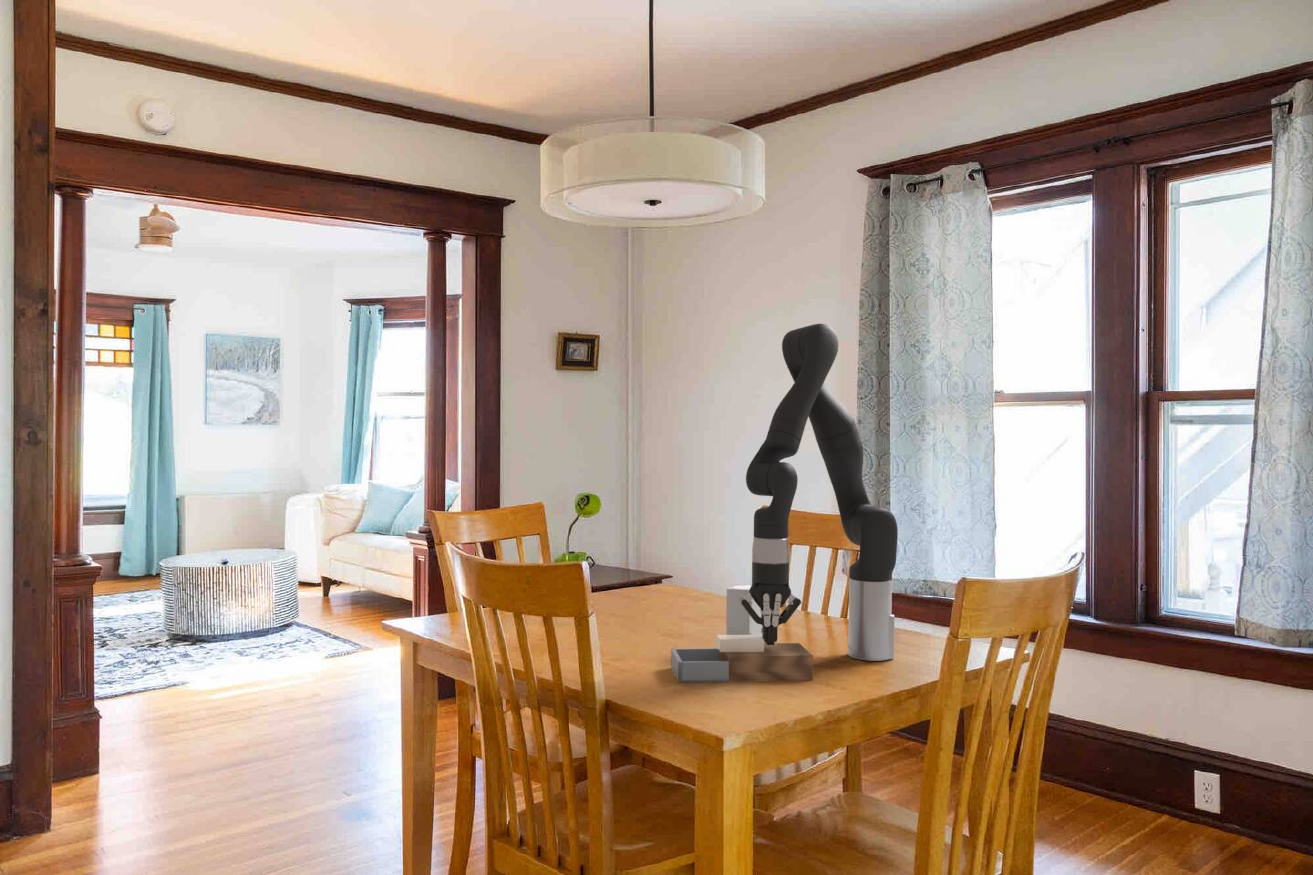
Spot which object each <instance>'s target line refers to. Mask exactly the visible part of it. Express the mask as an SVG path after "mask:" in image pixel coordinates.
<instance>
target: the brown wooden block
mask: <svg viewBox="0 0 1313 875" xmlns="http://www.w3.org/2000/svg"><path fill="white" fill-rule="evenodd" d="M813 658H814V656H813V654H812V653H811V652H810V651H809V650H808V649H806V648H805V647H804V646H803V645H802V644H801V643H799V642H793V643H792V642H784V643H783V642H782V643H781V642H778V643H777V642H774V645H767V644H766V643H765V642H764V652H720V651H719V661H729V682H731V683H732V682H785V681H787V682H790V681H792V682H794V681H796V682H797V681H798V682H799V681H813V669H814V668H813V667H814V666H813V662H814V661H813V660H814V659H813ZM729 682H728V683H729Z"/></svg>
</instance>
